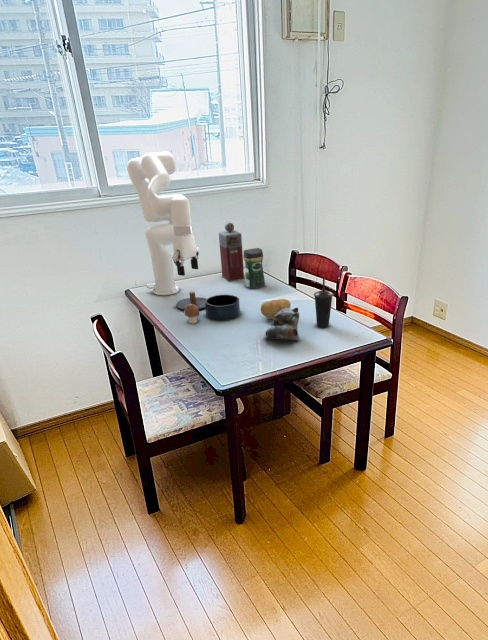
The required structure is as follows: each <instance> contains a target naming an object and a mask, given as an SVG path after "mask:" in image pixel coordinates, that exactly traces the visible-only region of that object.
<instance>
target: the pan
mask: <svg viewBox="0 0 488 640" xmlns="http://www.w3.org/2000/svg"><path fill="white" fill-rule="evenodd" d="M240 304H241V303H240V298H239V297H238V296H236V295H233V294H216V295H213V296H209V297H207V298H206V300H205V306H206V308H205V313H206V318H208V319H210V320H211V321H216V322H217V321H218V322H224V321H225V322H227V321H232V320H235V319H237V318H239V317H240V315H241V305H240Z"/></svg>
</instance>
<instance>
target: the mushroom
mask: <svg viewBox="0 0 488 640" xmlns="http://www.w3.org/2000/svg"><path fill="white" fill-rule="evenodd" d="M183 311H184V316H185V317H187V318H188V323H189V324H195V323H198V316H199V315H200V309H198V307H197V306H196V305H195V304H188V305H187V306H186V308H185V310H183Z"/></svg>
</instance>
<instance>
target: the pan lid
mask: <svg viewBox="0 0 488 640" xmlns="http://www.w3.org/2000/svg"><path fill="white" fill-rule="evenodd" d="M188 293H189V297H187V298H182V299H180V300H178V301H177V302H176V305H175V306H176V308H177V309H179V310H181V311H182V310H183V311H184V310H185V308H186V306H187V305H188V304H195V305H196V306H197V307H198V309H199V310H202V309H206V306H205V300H206V299H207V298H206V297H201V296H200V297H199V296H196V291H189V292H188Z"/></svg>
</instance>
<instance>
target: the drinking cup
mask: <svg viewBox="0 0 488 640" xmlns="http://www.w3.org/2000/svg"><path fill="white" fill-rule="evenodd" d="M325 284H326V278H325V277H323V278H322V290H318V291H315V292H314V293H313V296H314V304H315V318H316V327H317V328H319V329H327V328H328V327H329V326H330V319H331V318H330V317H331V312H332V311H331V309H332V303H333V296H334V293H333V292H331V291H330V290H326V288H325V286H326V285H325Z"/></svg>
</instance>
